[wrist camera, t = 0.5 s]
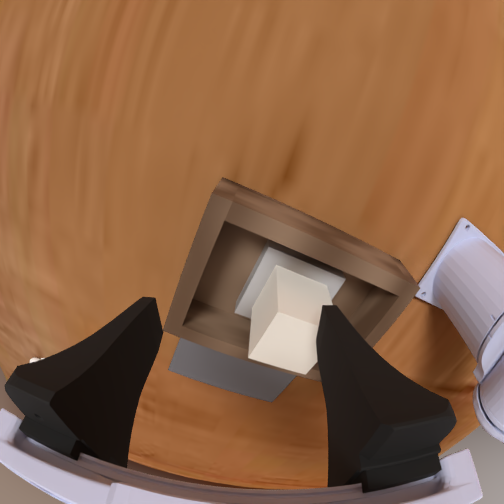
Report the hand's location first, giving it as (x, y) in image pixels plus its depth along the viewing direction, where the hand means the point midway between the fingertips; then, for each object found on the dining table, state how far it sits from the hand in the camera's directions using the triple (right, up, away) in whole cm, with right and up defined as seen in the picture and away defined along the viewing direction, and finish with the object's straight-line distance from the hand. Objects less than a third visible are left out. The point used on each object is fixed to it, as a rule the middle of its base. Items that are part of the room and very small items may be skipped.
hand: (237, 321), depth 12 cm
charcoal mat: (-1, -8, +15) cm, 17 cm away
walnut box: (+3, +1, +10) cm, 11 cm away
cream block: (+3, 0, +8) cm, 9 cm away
